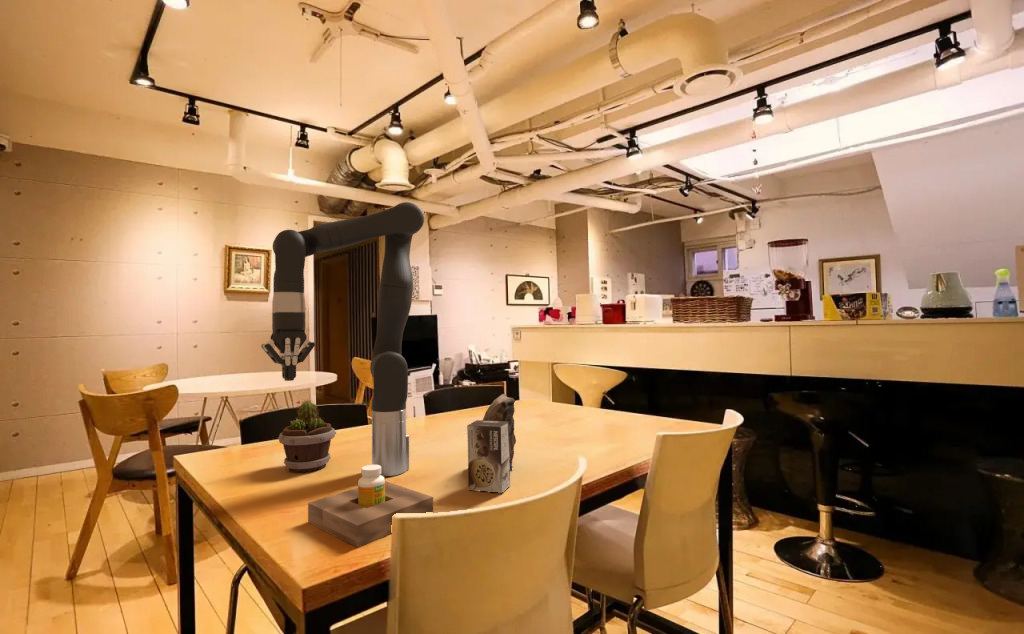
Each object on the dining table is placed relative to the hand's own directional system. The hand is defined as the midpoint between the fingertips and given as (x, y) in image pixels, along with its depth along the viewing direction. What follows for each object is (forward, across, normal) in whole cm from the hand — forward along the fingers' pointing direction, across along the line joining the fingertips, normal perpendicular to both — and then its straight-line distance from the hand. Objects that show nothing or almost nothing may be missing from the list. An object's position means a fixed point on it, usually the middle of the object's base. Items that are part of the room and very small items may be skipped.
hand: (289, 380), depth 117 cm
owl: (+27, -45, +28) cm, 60 cm away
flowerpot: (+27, -12, -14) cm, 33 cm away
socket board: (+27, -2, +32) cm, 42 cm away
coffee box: (+27, -31, +39) cm, 57 cm away
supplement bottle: (+26, -2, +32) cm, 41 cm away
